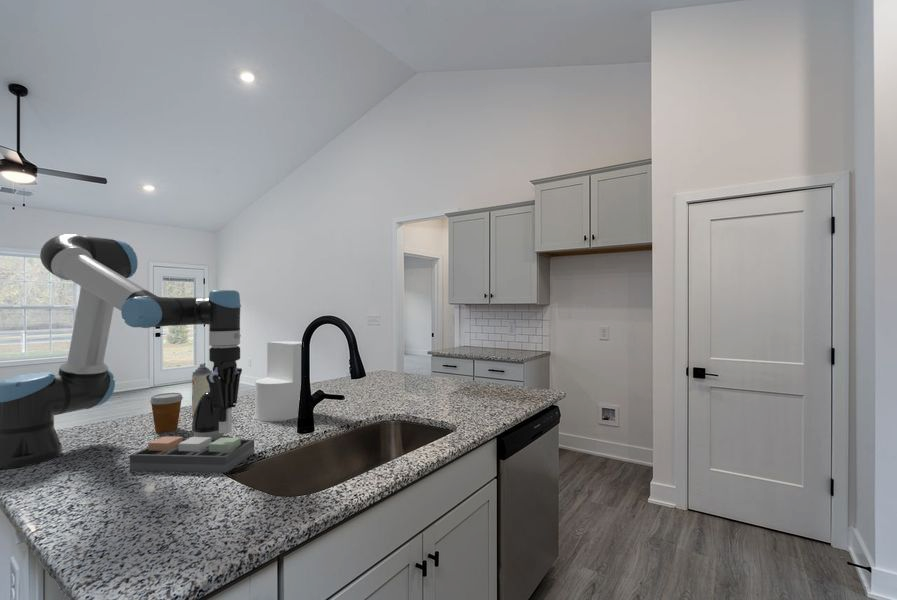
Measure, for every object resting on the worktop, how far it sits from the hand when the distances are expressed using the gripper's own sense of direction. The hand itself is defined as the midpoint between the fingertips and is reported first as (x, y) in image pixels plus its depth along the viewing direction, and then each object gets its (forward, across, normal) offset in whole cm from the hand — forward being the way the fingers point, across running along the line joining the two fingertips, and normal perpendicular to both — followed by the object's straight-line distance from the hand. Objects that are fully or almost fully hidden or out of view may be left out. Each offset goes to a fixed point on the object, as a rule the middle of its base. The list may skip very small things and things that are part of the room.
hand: (225, 432), depth 116 cm
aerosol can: (+8, +46, +38) cm, 60 cm away
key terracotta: (+4, 0, +17) cm, 18 cm away
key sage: (+4, 0, 0) cm, 4 cm away
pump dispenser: (+8, +19, +17) cm, 27 cm away
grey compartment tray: (+8, 0, +9) cm, 12 cm away
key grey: (+4, 0, +9) cm, 10 cm away
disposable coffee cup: (+8, +27, +38) cm, 47 cm away
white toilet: (+8, +48, +8) cm, 49 cm away
